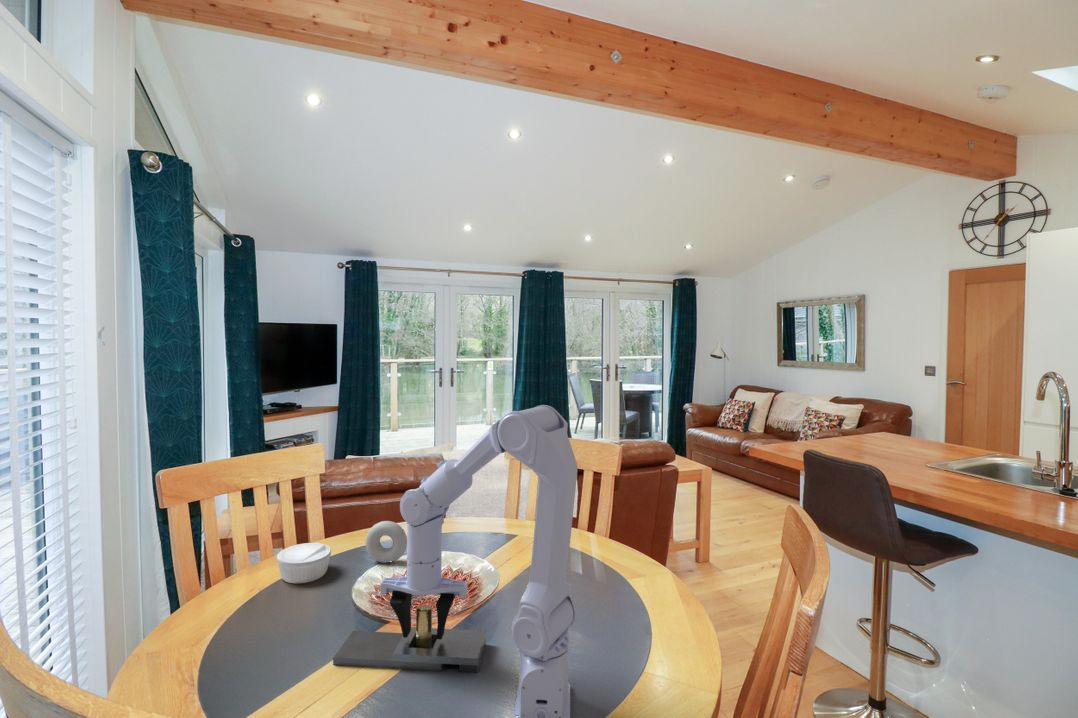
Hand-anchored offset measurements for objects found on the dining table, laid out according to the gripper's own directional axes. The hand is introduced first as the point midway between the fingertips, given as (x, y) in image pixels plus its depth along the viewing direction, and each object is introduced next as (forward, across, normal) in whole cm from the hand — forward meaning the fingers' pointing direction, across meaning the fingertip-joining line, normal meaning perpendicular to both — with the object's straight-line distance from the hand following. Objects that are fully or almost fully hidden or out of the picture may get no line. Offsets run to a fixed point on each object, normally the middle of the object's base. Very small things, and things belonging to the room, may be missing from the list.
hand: (423, 635), depth 90 cm
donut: (+4, +19, -35) cm, 40 cm away
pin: (+3, 0, 0) cm, 3 cm away
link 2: (+3, -3, 0) cm, 5 cm away
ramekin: (+4, +35, -27) cm, 44 cm away
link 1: (+3, +5, 0) cm, 6 cm away
